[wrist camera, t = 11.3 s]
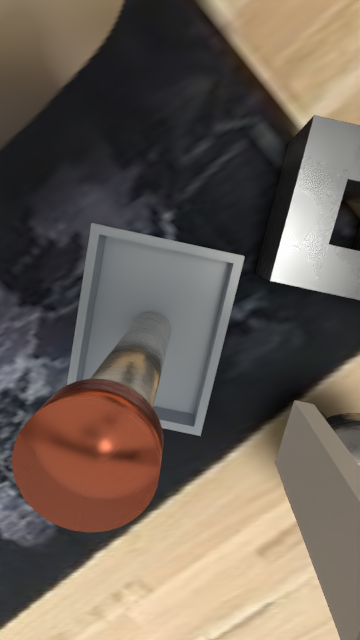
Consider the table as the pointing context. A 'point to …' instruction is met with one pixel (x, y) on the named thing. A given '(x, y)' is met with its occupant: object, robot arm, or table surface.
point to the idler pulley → (346, 432)
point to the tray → (166, 298)
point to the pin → (99, 438)
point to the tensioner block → (314, 211)
